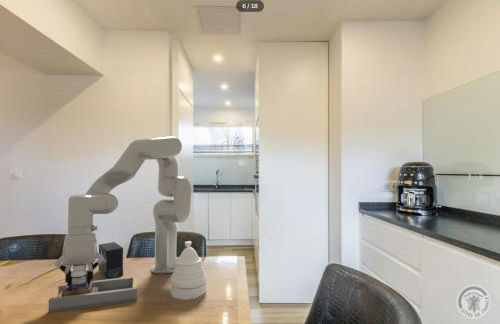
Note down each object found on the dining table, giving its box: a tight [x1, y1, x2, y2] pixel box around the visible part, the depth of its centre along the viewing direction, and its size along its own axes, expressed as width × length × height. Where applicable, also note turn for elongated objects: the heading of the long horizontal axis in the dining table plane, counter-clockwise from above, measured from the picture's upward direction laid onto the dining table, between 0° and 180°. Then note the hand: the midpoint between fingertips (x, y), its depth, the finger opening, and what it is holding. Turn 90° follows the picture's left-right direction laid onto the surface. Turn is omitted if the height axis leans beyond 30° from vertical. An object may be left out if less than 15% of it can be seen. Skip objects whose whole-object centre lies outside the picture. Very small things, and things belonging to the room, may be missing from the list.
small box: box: [98, 241, 124, 280], centre depth 129 cm, size 13×7×12 cm, turn 41°
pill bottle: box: [70, 264, 89, 291], centre depth 102 cm, size 5×5×10 cm
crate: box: [57, 280, 99, 297], centre depth 102 cm, size 12×9×4 cm
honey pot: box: [170, 240, 207, 300], centre depth 110 cm, size 13×13×18 cm
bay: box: [48, 275, 138, 314], centre depth 104 cm, size 26×13×4 cm, turn 111°
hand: (79, 282), depth 102 cm, fingers closed on pill bottle, 5 cm apart
